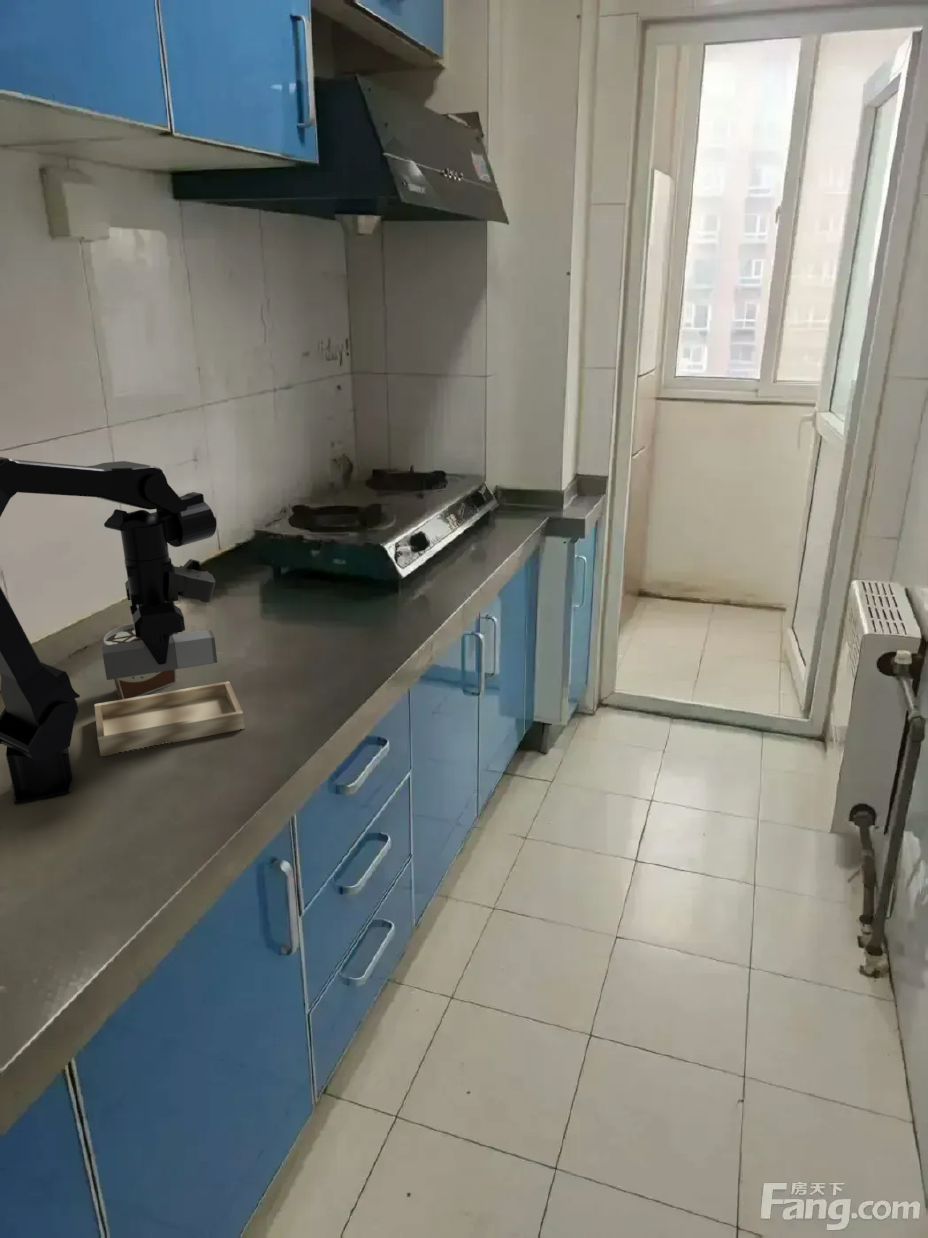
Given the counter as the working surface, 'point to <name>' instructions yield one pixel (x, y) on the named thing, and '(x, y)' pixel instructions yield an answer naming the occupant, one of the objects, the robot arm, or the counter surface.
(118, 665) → the tall gray brick
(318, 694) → the counter surface
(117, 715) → the tray
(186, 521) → the robot arm
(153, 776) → the counter surface
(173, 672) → the food container
